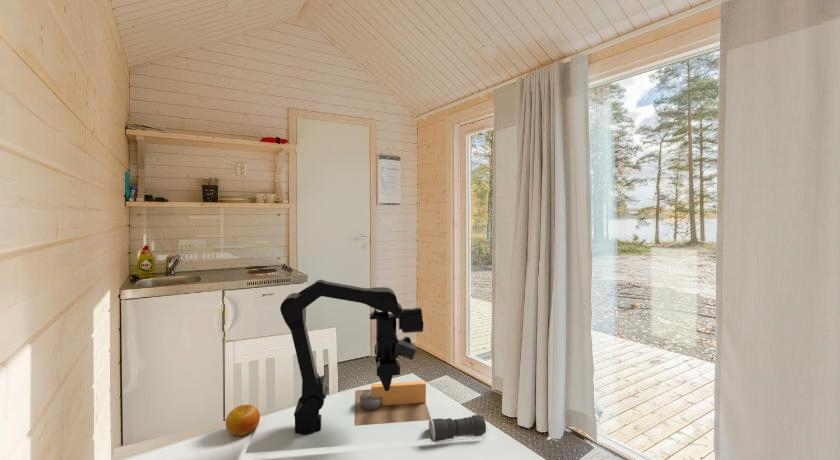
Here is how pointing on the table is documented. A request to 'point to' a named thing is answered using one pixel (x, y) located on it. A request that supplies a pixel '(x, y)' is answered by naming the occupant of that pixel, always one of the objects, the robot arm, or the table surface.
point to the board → (389, 412)
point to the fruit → (242, 420)
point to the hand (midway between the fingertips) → (386, 387)
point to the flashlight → (456, 427)
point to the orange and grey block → (393, 395)
